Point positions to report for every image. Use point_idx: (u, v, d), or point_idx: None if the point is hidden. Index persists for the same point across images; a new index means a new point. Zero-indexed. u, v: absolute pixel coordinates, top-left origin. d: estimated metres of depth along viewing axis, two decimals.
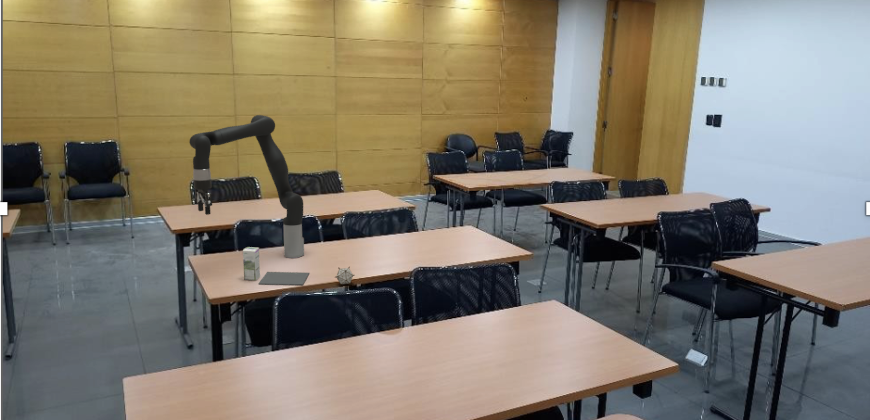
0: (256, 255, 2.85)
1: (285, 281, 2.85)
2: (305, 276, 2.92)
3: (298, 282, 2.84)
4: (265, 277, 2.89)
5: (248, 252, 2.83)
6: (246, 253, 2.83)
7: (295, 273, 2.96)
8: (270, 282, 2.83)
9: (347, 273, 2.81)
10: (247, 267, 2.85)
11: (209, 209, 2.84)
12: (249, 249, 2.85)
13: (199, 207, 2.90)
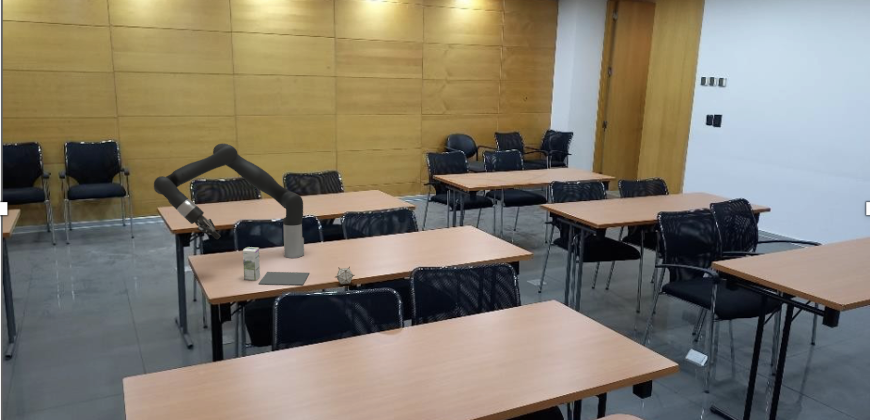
0: (256, 255, 2.85)
1: (285, 281, 2.85)
2: (305, 276, 2.92)
3: (298, 282, 2.84)
4: (265, 277, 2.89)
5: (248, 252, 2.83)
6: (246, 253, 2.83)
7: (295, 273, 2.96)
8: (270, 282, 2.83)
9: (347, 273, 2.81)
10: (247, 267, 2.85)
11: (214, 234, 2.82)
12: (249, 249, 2.85)
13: None
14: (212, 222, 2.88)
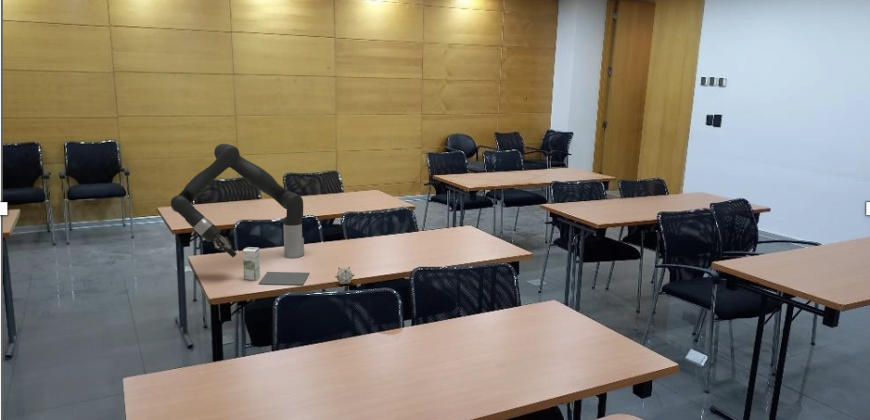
0: (256, 255, 2.85)
1: (285, 281, 2.85)
2: (305, 276, 2.92)
3: (298, 282, 2.84)
4: (265, 277, 2.89)
5: (248, 252, 2.83)
6: (246, 253, 2.83)
7: (295, 273, 2.96)
8: (270, 282, 2.83)
9: (347, 273, 2.81)
10: (247, 267, 2.85)
11: (230, 252, 2.84)
12: (249, 249, 2.85)
13: None
14: (228, 240, 2.90)
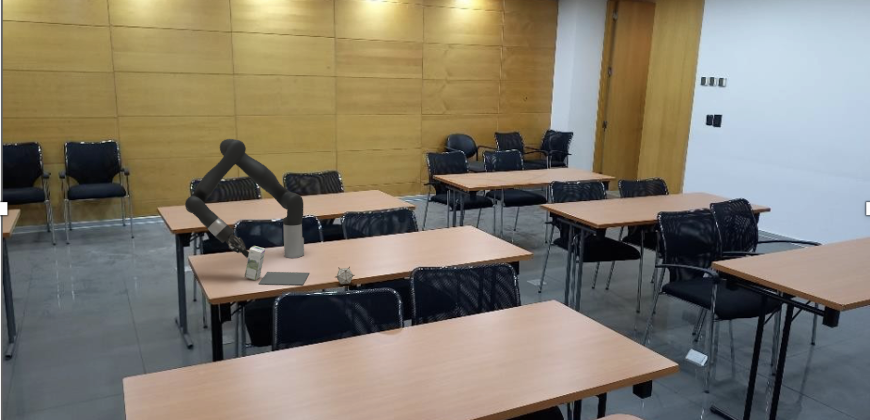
0: (261, 256, 2.85)
1: (285, 281, 2.85)
2: (305, 276, 2.92)
3: (298, 282, 2.84)
4: (265, 277, 2.89)
5: (255, 252, 2.83)
6: (253, 252, 2.83)
7: (295, 273, 2.96)
8: (270, 282, 2.83)
9: (347, 273, 2.81)
10: (250, 266, 2.85)
11: (245, 252, 2.85)
12: (256, 249, 2.84)
13: None
14: (242, 240, 2.90)
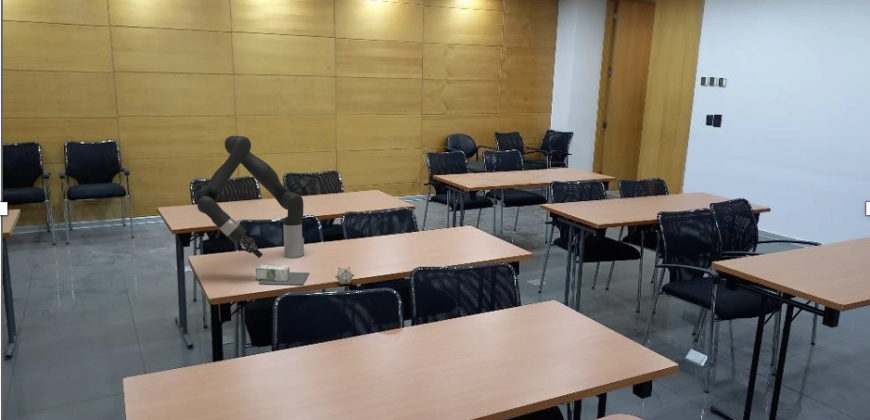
0: None
1: (285, 281, 2.85)
2: (305, 276, 2.92)
3: (298, 282, 2.84)
4: None
5: (284, 275, 2.84)
6: (283, 273, 2.84)
7: (295, 273, 2.96)
8: (270, 282, 2.83)
9: (347, 273, 2.81)
10: (268, 273, 2.85)
11: (256, 252, 2.85)
12: (287, 273, 2.86)
13: None
14: None
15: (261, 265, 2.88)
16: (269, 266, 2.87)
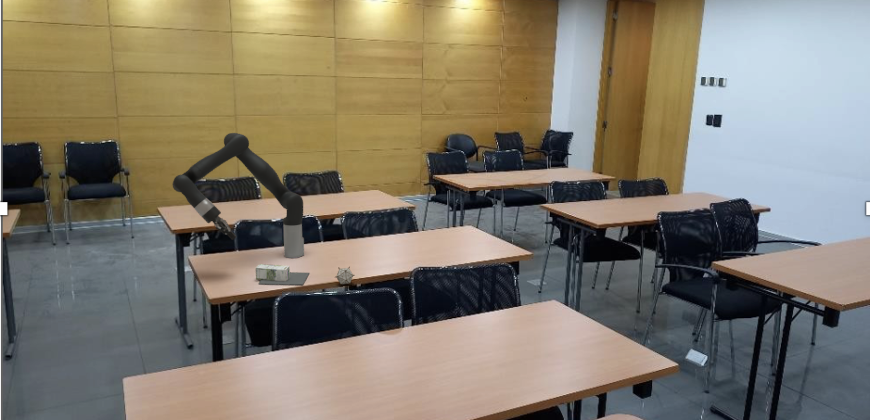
0: None
1: (285, 281, 2.85)
2: (305, 276, 2.92)
3: (298, 282, 2.84)
4: None
5: (284, 275, 2.84)
6: (283, 273, 2.84)
7: (295, 273, 2.96)
8: (270, 282, 2.83)
9: (347, 273, 2.81)
10: (268, 273, 2.85)
11: (231, 234, 2.84)
12: (287, 273, 2.86)
13: None
14: (227, 223, 2.89)
15: (261, 265, 2.88)
16: (269, 266, 2.87)
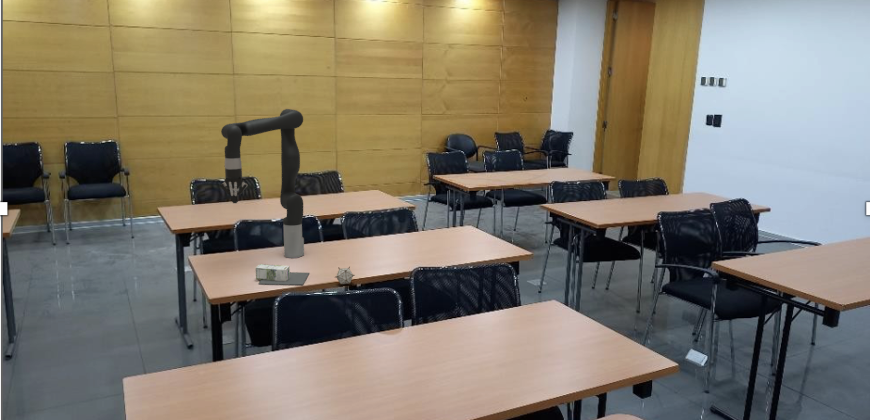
0: None
1: (285, 281, 2.85)
2: (305, 276, 2.92)
3: (298, 282, 2.84)
4: None
5: (284, 275, 2.84)
6: (283, 273, 2.84)
7: (295, 273, 2.96)
8: (270, 282, 2.83)
9: (347, 273, 2.81)
10: (268, 273, 2.85)
11: None
12: (287, 273, 2.86)
13: (234, 200, 2.96)
14: None
15: (261, 265, 2.88)
16: (269, 266, 2.87)
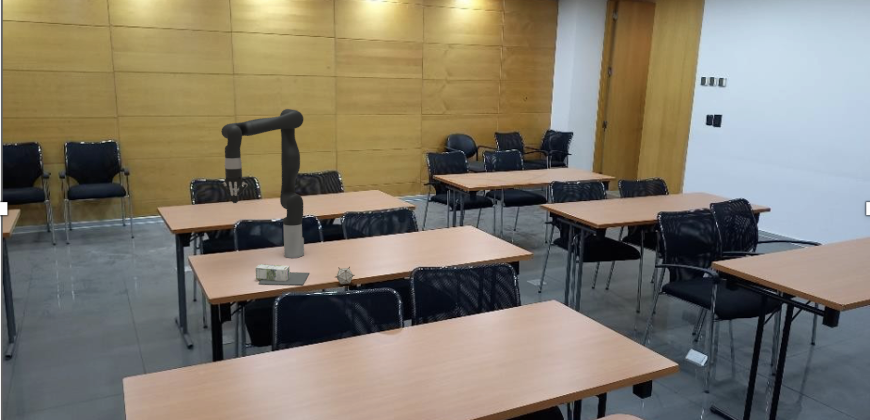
0: None
1: (285, 281, 2.85)
2: (305, 276, 2.92)
3: (298, 282, 2.84)
4: None
5: (284, 275, 2.84)
6: (283, 273, 2.84)
7: (295, 273, 2.96)
8: (270, 282, 2.83)
9: (347, 273, 2.81)
10: (268, 273, 2.85)
11: None
12: (287, 273, 2.86)
13: (234, 199, 2.96)
14: None
15: (261, 265, 2.88)
16: (269, 266, 2.87)
